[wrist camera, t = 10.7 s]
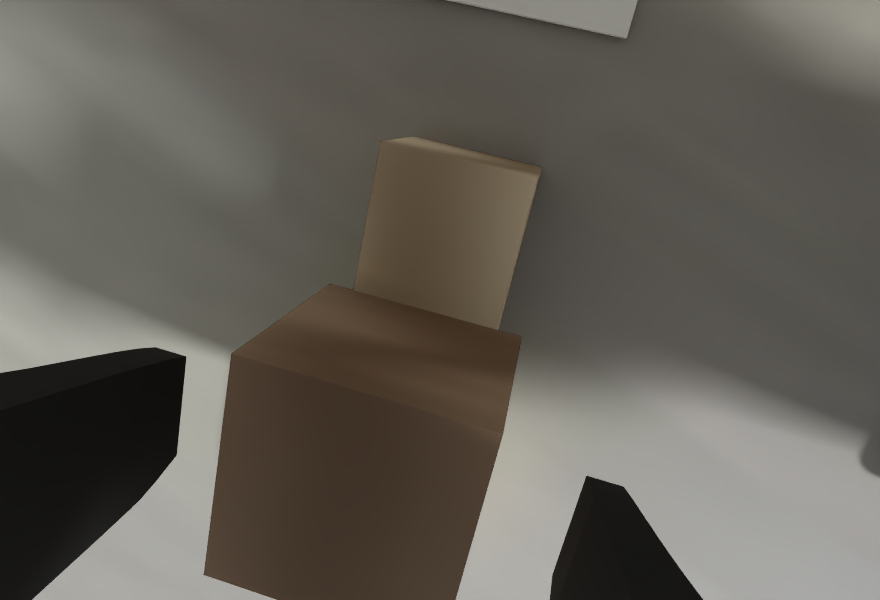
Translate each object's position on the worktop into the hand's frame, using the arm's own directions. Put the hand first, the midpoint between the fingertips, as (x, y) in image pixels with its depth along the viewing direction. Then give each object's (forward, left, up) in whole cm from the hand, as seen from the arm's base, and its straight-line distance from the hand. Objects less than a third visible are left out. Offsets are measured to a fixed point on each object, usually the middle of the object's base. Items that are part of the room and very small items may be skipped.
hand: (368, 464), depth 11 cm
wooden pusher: (0, 0, -6) cm, 6 cm away
